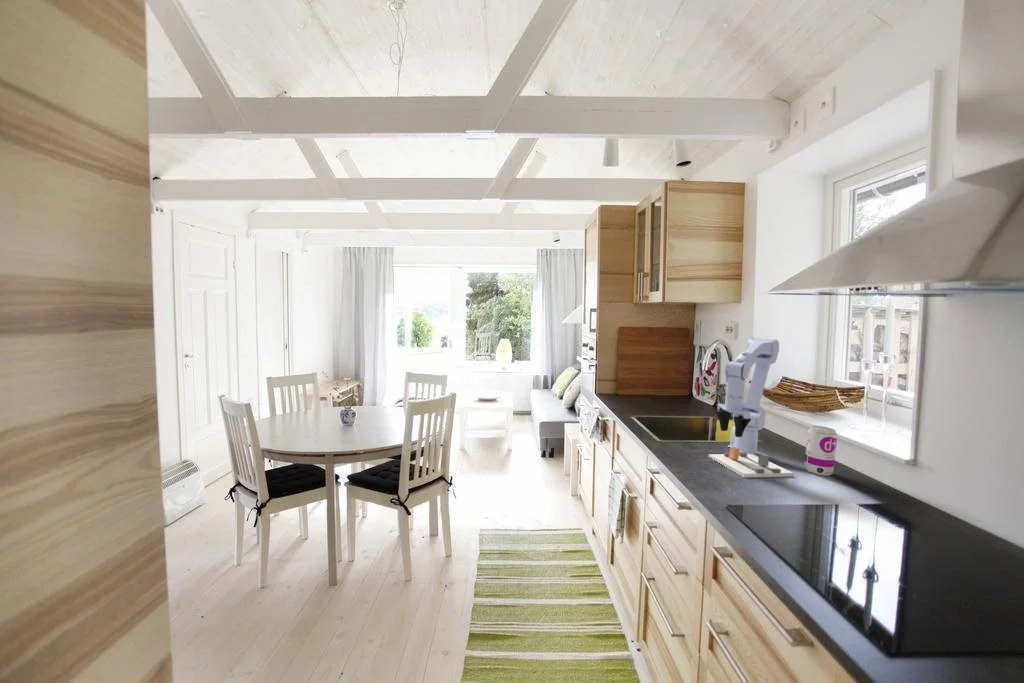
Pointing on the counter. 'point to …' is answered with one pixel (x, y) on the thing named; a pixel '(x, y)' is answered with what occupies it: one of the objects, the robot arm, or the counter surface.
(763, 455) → the grey rectangular box
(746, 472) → the panel
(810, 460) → the supplement can
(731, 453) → the fader orange
